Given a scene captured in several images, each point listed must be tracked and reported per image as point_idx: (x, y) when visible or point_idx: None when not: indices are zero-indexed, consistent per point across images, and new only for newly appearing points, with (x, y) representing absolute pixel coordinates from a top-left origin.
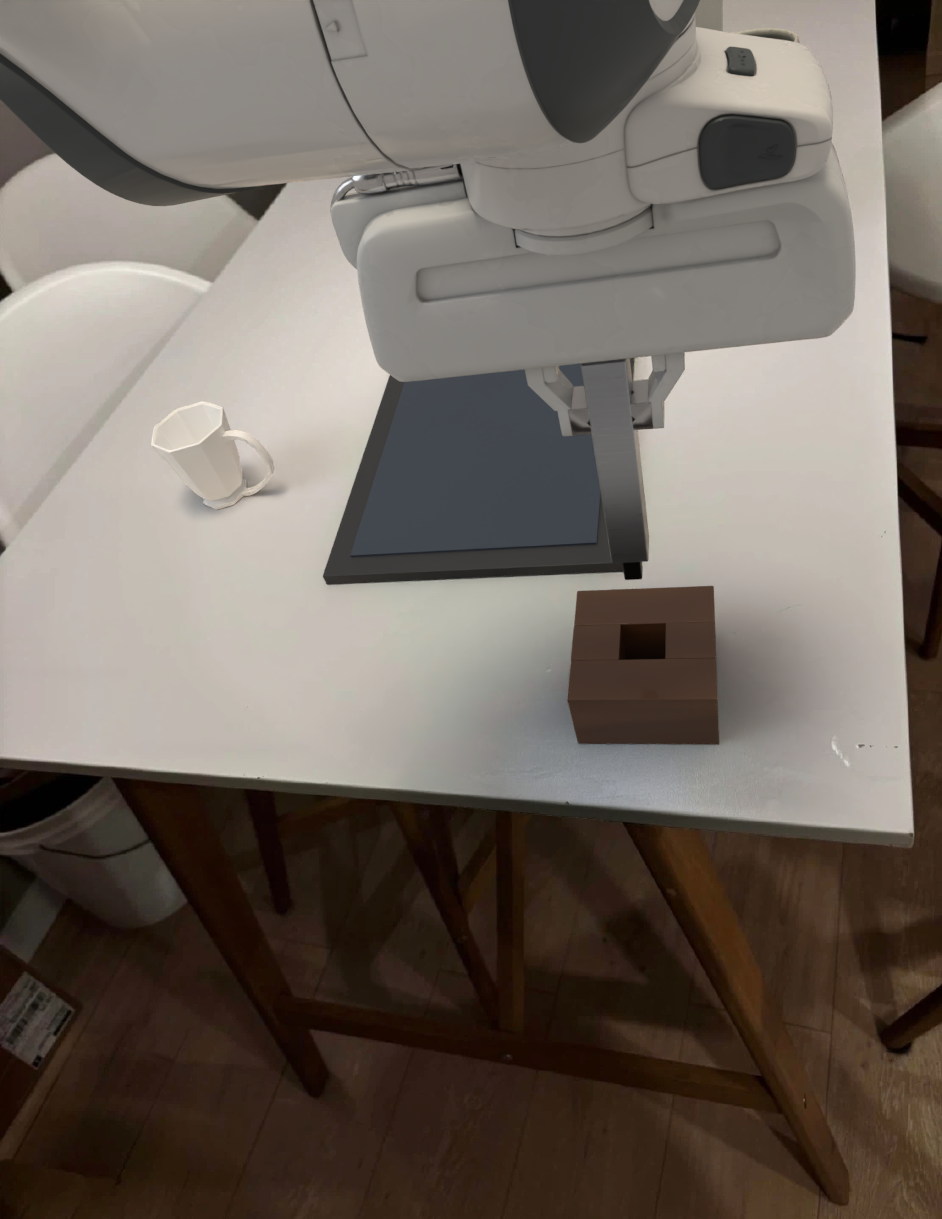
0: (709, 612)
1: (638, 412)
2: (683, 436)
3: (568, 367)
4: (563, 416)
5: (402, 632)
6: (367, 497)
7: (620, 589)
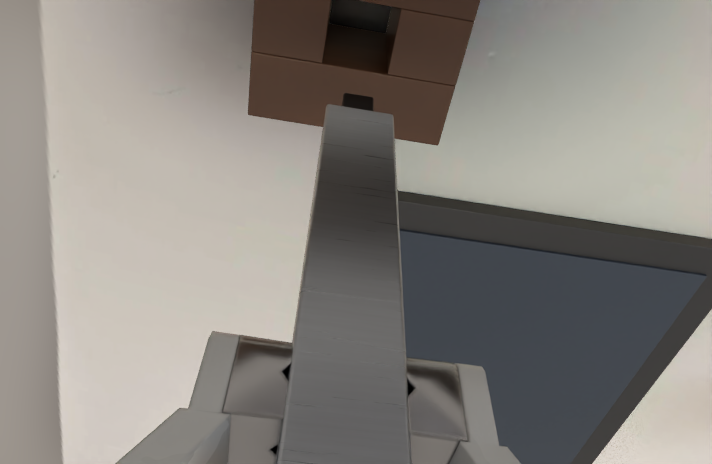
0: (257, 69)
1: (266, 388)
2: None
3: None
4: (482, 423)
5: (671, 153)
6: (655, 347)
7: None
